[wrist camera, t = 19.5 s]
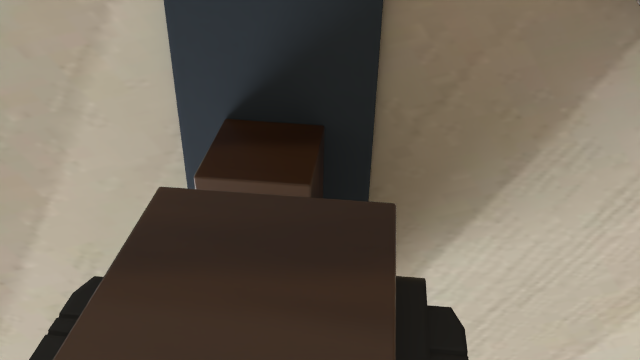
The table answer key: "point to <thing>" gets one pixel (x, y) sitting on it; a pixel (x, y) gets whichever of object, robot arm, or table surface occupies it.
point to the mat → (280, 76)
